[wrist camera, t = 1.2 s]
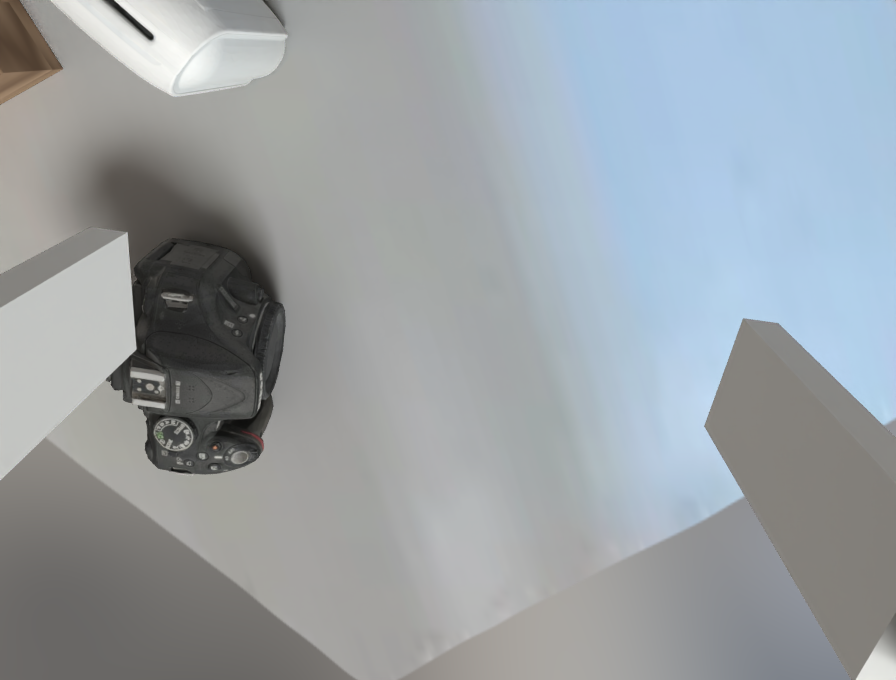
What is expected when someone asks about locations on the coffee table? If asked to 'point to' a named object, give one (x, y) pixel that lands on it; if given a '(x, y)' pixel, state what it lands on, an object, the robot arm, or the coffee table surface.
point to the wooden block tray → (22, 52)
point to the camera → (201, 358)
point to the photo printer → (185, 40)
